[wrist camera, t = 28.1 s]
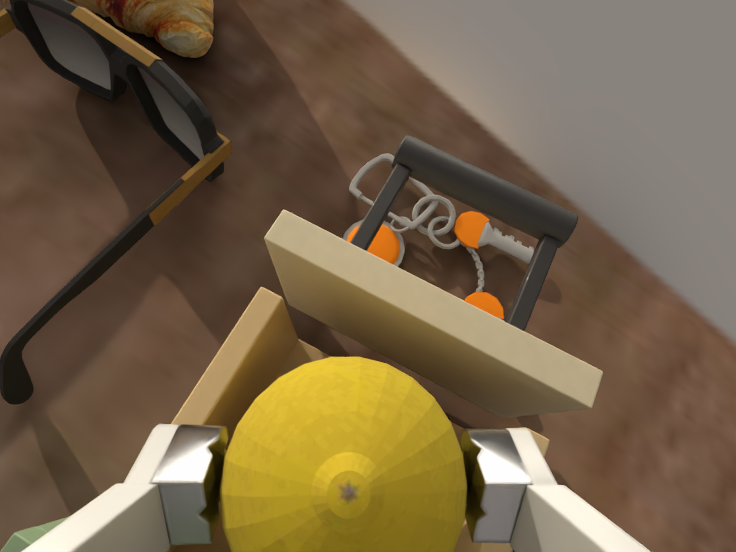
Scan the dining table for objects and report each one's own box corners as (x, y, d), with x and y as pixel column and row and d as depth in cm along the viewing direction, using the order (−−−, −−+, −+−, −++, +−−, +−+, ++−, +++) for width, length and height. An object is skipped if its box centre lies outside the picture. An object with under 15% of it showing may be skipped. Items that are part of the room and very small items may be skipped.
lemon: (450, 421, 15) (564, 402, 8) (385, 599, 13) (450, 813, 6) (305, 351, 15) (275, 270, 8) (222, 514, 14) (82, 606, 6)
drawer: (357, 191, 23) (366, 86, 16) (552, 288, 22) (652, 220, 15) (106, 597, 16) (-62, 713, 9) (367, 765, 15) (392, 1037, 8)
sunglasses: (-177, 228, 21) (-323, 168, 17) (74, 43, 26) (16, -43, 21) (23, 406, 19) (-79, 395, 14) (256, 170, 24) (237, 105, 19)
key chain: (301, 226, 23) (299, 219, 22) (393, 142, 25) (395, 132, 24) (498, 399, 20) (505, 397, 20) (581, 289, 23) (590, 283, 22)
